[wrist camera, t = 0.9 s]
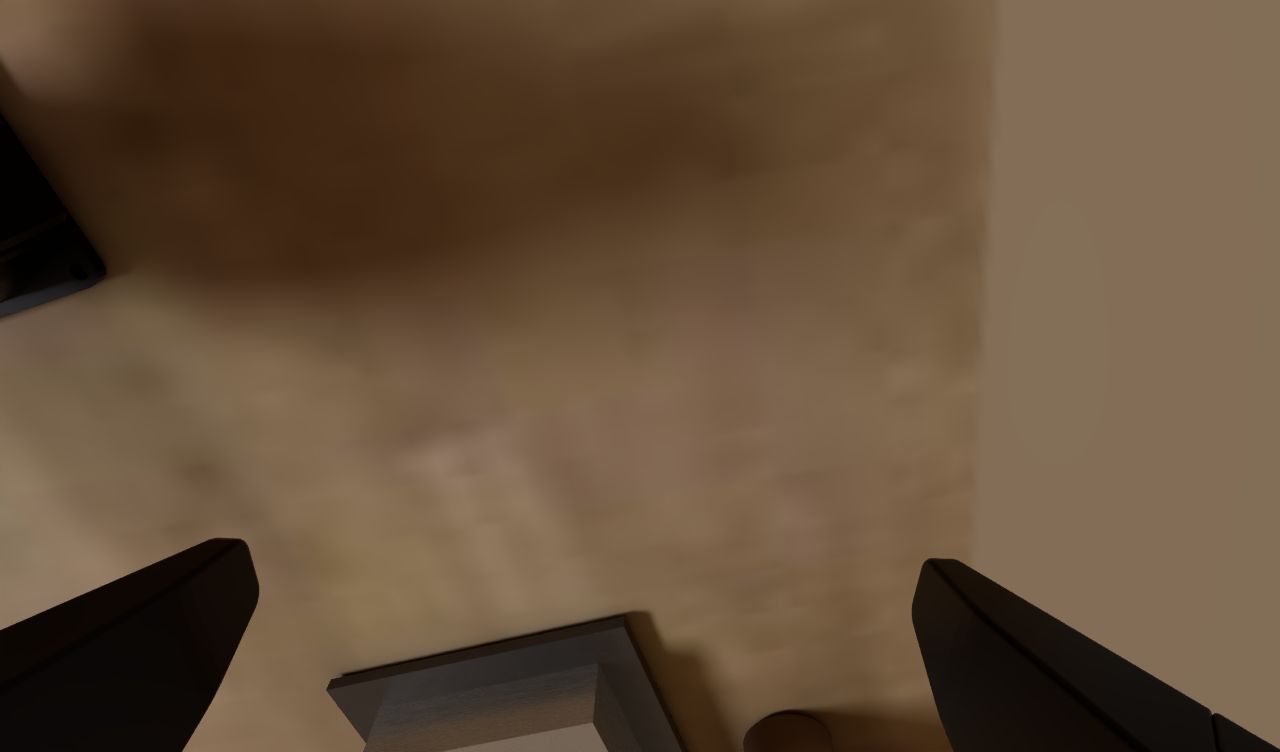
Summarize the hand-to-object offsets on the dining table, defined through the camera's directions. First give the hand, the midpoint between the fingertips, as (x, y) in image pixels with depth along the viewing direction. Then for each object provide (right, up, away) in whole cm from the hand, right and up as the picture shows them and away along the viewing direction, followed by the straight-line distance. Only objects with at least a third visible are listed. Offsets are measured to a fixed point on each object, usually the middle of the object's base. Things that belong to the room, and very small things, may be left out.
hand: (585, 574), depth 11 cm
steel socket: (-4, -13, +22) cm, 25 cm away
